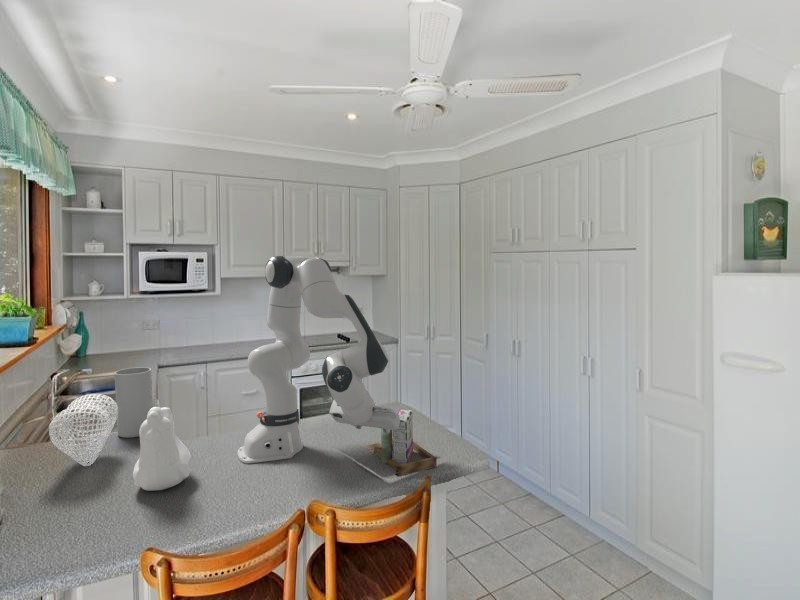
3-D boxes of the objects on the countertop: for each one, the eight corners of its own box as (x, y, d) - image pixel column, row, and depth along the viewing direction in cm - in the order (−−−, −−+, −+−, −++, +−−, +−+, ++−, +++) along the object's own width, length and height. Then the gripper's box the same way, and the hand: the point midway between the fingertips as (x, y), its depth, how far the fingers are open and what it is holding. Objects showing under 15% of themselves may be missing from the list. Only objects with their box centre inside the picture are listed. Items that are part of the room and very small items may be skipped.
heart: (74, 452, 163) (71, 391, 161) (124, 446, 168) (121, 387, 166) (44, 488, 136) (39, 416, 135) (104, 480, 142) (100, 410, 140)
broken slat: (368, 454, 160) (368, 449, 160) (364, 450, 164) (364, 445, 163) (406, 445, 167) (406, 441, 167) (401, 442, 171) (401, 438, 170)
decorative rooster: (179, 498, 131) (175, 413, 129) (121, 501, 129) (116, 415, 127) (207, 460, 155) (204, 389, 153) (159, 463, 154) (155, 390, 152)
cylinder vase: (161, 428, 186) (158, 368, 184) (137, 439, 174) (133, 375, 172) (135, 426, 189) (132, 366, 187) (110, 437, 177) (106, 373, 175)
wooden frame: (394, 477, 142) (393, 436, 141) (371, 456, 157) (370, 419, 156) (436, 466, 149) (436, 428, 148) (410, 447, 165) (410, 412, 164)
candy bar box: (399, 454, 159) (398, 408, 158) (413, 455, 158) (413, 409, 157) (392, 468, 148) (391, 419, 147) (407, 470, 147) (407, 420, 146)
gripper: (395, 400, 128) (407, 423, 138) (331, 393, 135) (347, 415, 145) (389, 421, 124) (402, 442, 134) (324, 412, 131) (340, 433, 141)
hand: (373, 428), depth 140 cm, fingers open, 8 cm apart
